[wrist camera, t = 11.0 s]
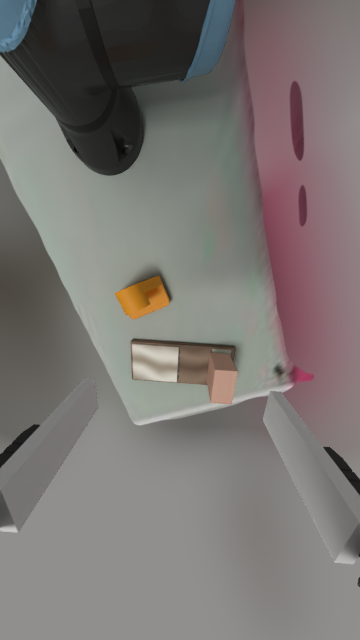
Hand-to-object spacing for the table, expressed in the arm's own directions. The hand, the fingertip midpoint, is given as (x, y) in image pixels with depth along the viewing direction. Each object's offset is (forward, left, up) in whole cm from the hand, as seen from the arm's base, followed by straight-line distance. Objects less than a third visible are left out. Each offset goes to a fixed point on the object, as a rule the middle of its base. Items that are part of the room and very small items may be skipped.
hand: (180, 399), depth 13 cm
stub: (+16, +10, -30) cm, 35 cm away
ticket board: (+16, 0, -32) cm, 36 cm away
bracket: (-2, -10, -32) cm, 34 cm away
